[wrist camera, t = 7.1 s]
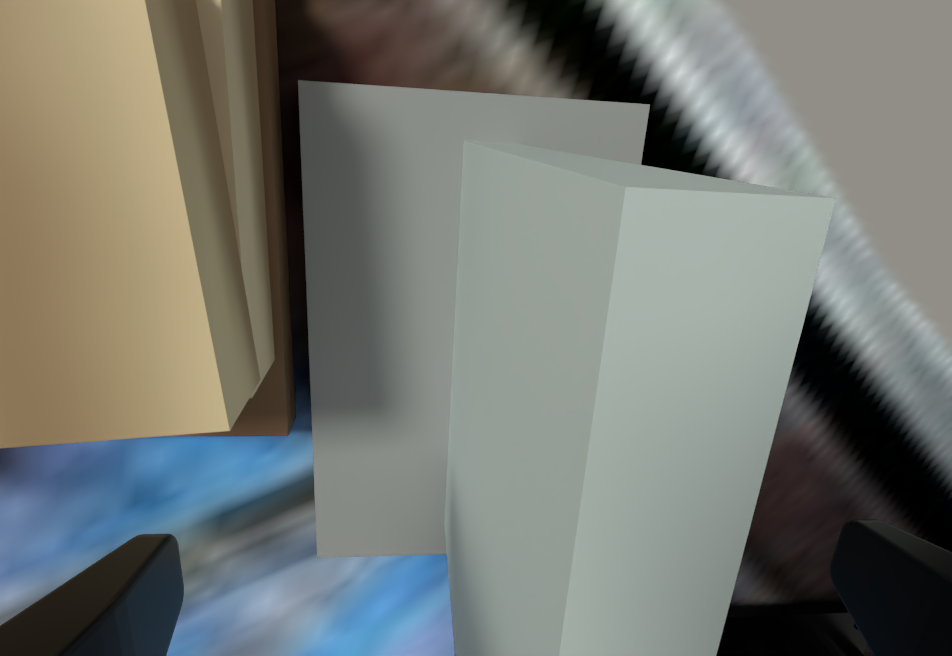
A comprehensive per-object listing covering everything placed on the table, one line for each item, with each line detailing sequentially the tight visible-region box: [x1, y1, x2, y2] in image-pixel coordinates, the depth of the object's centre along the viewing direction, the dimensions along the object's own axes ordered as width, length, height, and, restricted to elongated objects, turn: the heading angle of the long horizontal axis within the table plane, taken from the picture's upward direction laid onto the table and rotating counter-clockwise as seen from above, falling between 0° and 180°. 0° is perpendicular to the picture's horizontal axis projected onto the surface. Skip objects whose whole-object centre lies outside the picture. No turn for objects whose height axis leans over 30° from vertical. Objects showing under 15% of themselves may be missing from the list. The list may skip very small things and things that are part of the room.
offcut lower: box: [196, 0, 275, 398], centre depth 11 cm, size 5×8×2 cm, turn 177°
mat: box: [298, 80, 650, 558], centre depth 14 cm, size 8×12×1 cm, turn 177°
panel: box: [444, 141, 836, 656], centre depth 9 cm, size 1×10×10 cm, turn 177°
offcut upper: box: [0, 0, 260, 448], centre depth 9 cm, size 4×7×2 cm, turn 2°
